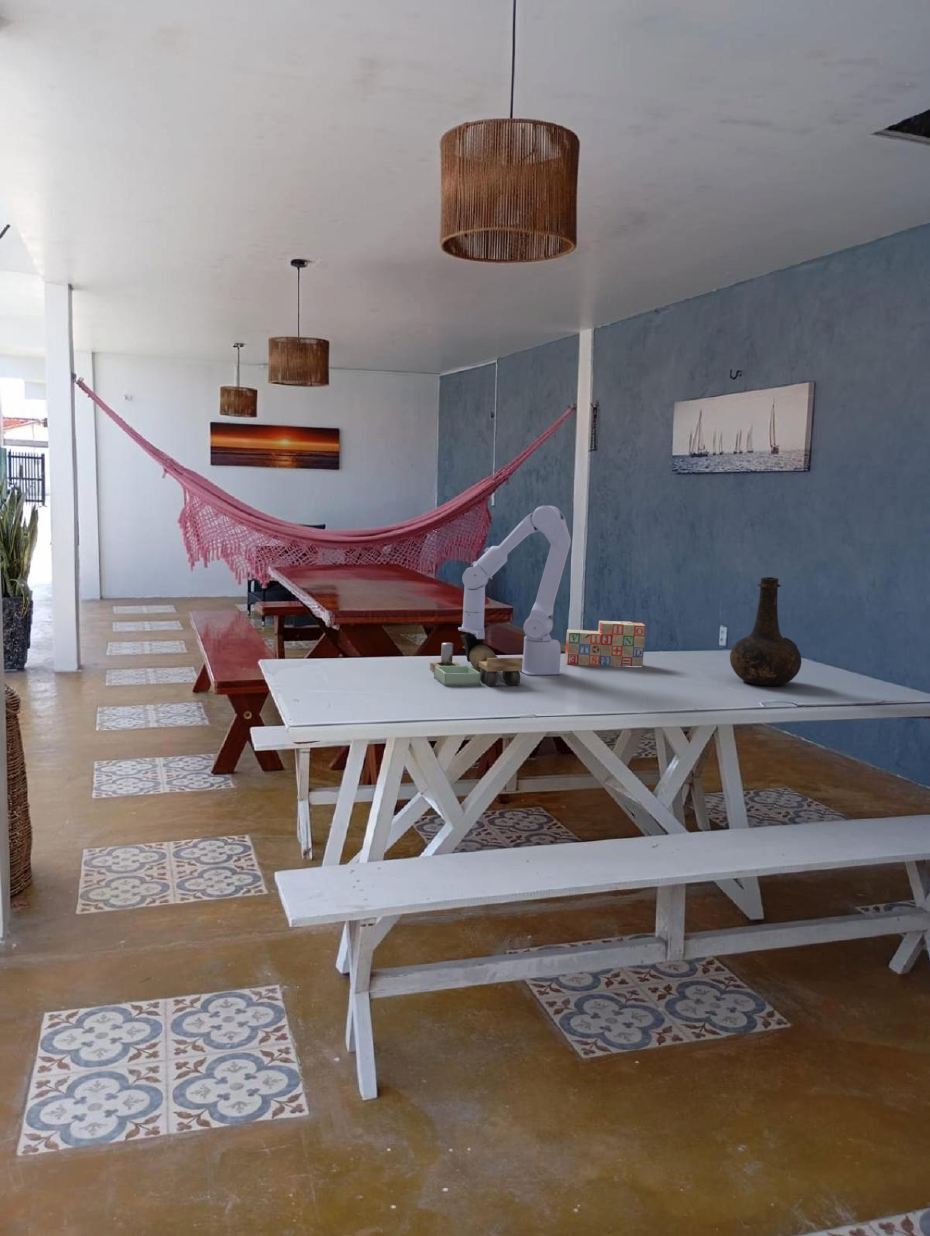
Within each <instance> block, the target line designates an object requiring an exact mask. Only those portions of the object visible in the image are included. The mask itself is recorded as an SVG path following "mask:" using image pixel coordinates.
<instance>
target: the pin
mask: <svg viewBox="0 0 930 1236" xmlns="http://www.w3.org/2000/svg"><path fill="white" fill-rule="evenodd" d="M440 649H441V650H440V651H441V652H440V662H441V666H452V662H453V658H454V657H453V656H454V655H453V654H454V643H453V642H441V648H440Z"/></svg>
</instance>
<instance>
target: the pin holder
mask: <svg viewBox="0 0 930 1236" xmlns="http://www.w3.org/2000/svg"><path fill="white" fill-rule="evenodd" d="M434 666H441V661H430V662H429V670H430V671H431V670H432V671H431V672H433V673H434ZM452 666H463V665H461V664H460V663H459V662H457V661H452Z"/></svg>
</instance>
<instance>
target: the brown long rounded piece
mask: <svg viewBox="0 0 930 1236" xmlns="http://www.w3.org/2000/svg"><path fill="white" fill-rule="evenodd" d="M469 658H470V662H469V663H470V665H471V666H472V668H473V669H475V670H476V671H478V672H479V673H480V669H481V667H479V662H483V661H487V658H499V657H498V655H496V654H495V652H494V651H493V650H492V649H491V648H490V647H488V646H487V645H484V644H481V645H477V646H475V647H474V648H472V650H471V651H470V655H469ZM498 672H499V671H496V673H497V674H498Z"/></svg>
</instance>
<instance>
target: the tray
mask: <svg viewBox="0 0 930 1236" xmlns="http://www.w3.org/2000/svg"><path fill="white" fill-rule="evenodd" d="M433 678H434V679H435V680H436V681H437V682H439V683H440V684H442V685H443V686H444V687H454V686H455V687H460V686H463V687H464V686H467V687H469V686H470V687H471V686H472V687H473V686H481V681H480V679H481V673H479V672H478V671H476V670H475V669H474V668H473V667H471V666H469V665H462V666H434V672H433Z"/></svg>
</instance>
